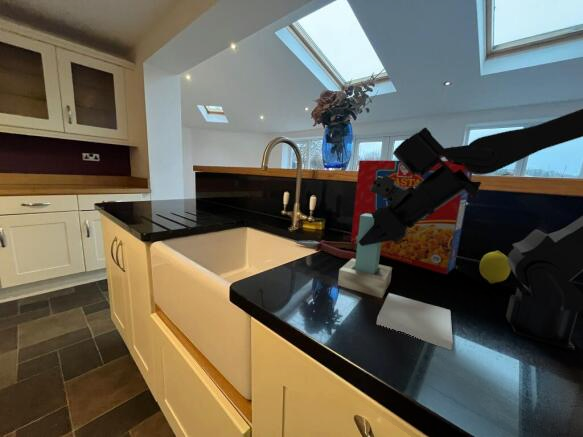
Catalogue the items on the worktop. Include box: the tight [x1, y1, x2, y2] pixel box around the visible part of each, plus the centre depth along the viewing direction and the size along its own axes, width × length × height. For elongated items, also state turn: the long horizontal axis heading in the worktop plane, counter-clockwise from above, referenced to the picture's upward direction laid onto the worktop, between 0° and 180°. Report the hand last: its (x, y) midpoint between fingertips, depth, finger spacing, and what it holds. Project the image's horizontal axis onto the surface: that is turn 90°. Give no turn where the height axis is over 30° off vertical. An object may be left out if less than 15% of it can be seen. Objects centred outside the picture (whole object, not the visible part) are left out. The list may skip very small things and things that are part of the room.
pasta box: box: [350, 159, 473, 275], centre depth 72 cm, size 28×8×28 cm, turn 44°
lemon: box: [479, 250, 512, 284], centre depth 57 cm, size 6×6×8 cm
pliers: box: [295, 239, 357, 260], centre depth 77 cm, size 12×20×3 cm, turn 66°
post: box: [355, 213, 381, 275], centre depth 52 cm, size 4×4×13 cm
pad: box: [376, 292, 454, 351], centre depth 40 cm, size 10×10×1 cm
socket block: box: [337, 258, 393, 299], centre depth 53 cm, size 9×9×4 cm
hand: (362, 241), depth 52 cm, fingers closed on post, 4 cm apart
